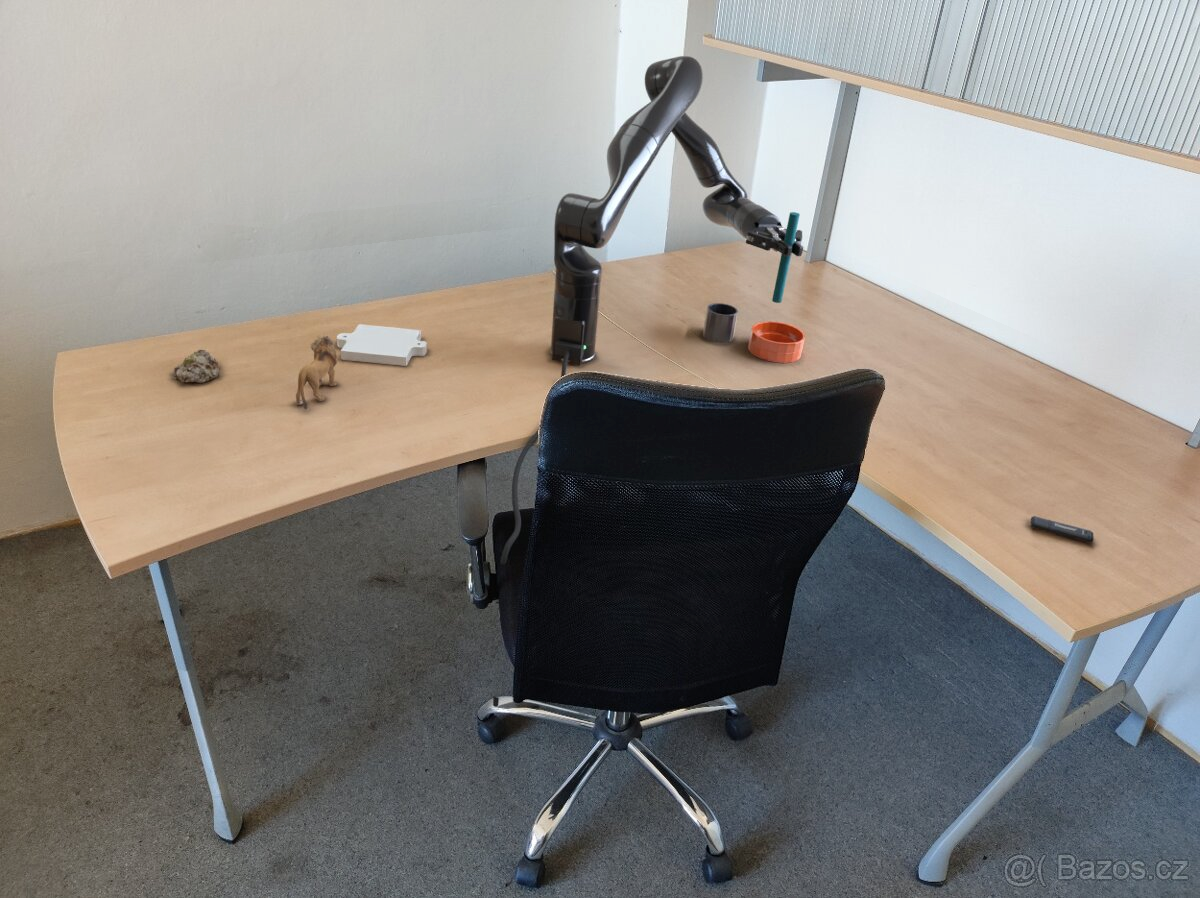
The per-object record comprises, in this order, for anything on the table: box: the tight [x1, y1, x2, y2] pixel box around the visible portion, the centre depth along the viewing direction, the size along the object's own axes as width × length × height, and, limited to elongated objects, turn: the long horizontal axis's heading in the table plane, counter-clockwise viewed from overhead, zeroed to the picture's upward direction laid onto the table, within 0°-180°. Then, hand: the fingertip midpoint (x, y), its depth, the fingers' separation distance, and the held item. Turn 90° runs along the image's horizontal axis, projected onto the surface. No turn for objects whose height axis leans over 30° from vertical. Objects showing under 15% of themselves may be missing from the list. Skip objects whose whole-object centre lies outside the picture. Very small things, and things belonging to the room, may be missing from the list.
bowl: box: [747, 320, 806, 364], centre depth 194 cm, size 12×12×5 cm
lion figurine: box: [295, 334, 338, 410], centre depth 161 cm, size 15×5×9 cm, turn 179°
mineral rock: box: [173, 349, 220, 384], centre depth 165 cm, size 11×4×8 cm
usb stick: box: [1030, 515, 1095, 543], centre depth 145 cm, size 10×3×2 cm, turn 69°
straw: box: [771, 211, 800, 304], centre depth 185 cm, size 2×2×19 cm
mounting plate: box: [336, 323, 428, 367], centre depth 180 cm, size 18×13×2 cm
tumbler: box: [702, 302, 739, 344], centre depth 198 cm, size 7×7×7 cm
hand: (794, 251), depth 181 cm, fingers closed on straw, 2 cm apart
